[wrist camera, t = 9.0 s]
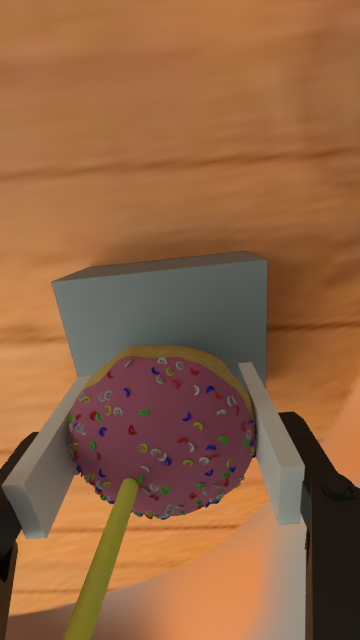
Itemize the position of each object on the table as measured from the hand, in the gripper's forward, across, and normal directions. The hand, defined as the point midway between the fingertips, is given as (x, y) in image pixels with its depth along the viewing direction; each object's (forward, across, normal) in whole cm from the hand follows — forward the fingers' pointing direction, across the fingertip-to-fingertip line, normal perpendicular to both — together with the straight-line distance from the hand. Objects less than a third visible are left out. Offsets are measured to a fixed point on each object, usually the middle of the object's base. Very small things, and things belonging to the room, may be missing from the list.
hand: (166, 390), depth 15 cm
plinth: (+9, 0, 0) cm, 9 cm away
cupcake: (+2, 0, 0) cm, 2 cm away
